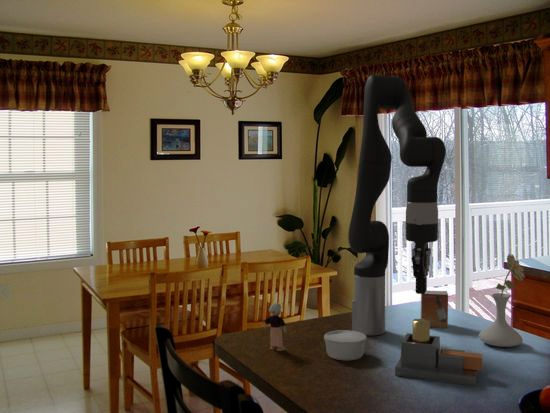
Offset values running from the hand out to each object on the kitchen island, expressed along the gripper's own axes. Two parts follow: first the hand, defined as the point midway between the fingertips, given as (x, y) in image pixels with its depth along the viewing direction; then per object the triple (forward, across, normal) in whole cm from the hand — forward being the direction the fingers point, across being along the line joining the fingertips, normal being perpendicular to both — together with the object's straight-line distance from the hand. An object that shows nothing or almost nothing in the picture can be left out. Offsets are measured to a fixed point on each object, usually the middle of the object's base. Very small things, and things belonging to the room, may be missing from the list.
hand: (421, 292), depth 136 cm
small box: (+19, -41, -2) cm, 45 cm away
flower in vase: (+19, -29, +18) cm, 39 cm away
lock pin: (+17, 0, +9) cm, 19 cm away
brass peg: (+17, 0, 0) cm, 17 cm away
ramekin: (+19, -4, -20) cm, 28 cm away
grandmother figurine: (+19, -2, -39) cm, 44 cm away
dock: (+19, 0, +4) cm, 19 cm away
